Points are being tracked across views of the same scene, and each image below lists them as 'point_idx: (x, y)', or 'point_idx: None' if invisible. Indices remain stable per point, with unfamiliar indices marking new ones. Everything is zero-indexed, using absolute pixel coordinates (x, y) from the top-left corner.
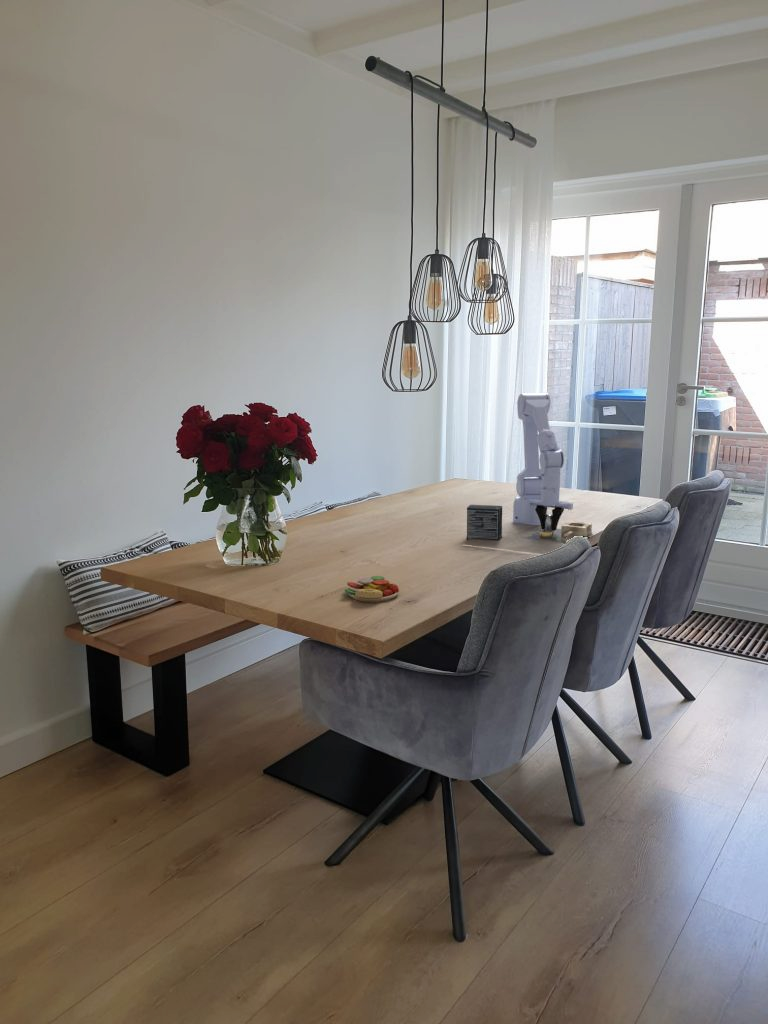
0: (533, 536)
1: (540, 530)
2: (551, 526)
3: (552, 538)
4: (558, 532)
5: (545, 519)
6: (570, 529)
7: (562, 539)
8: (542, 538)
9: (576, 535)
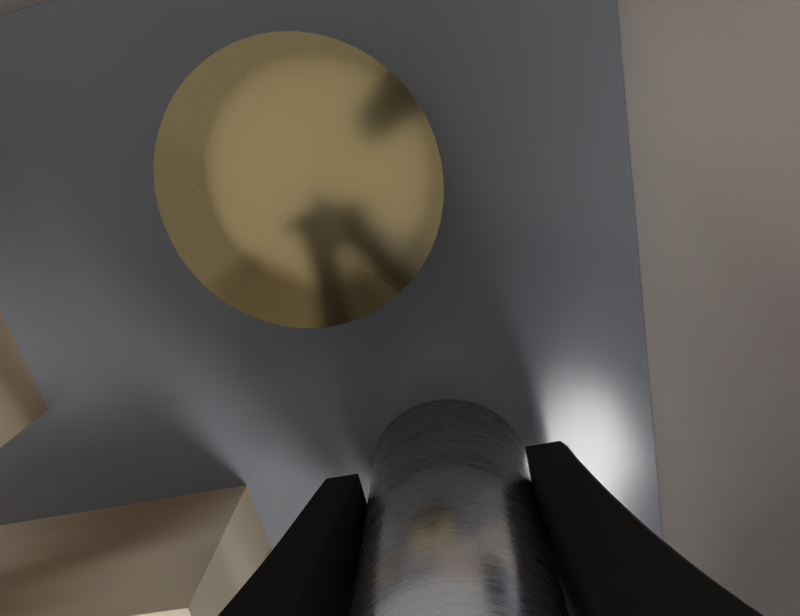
0: (536, 71)
1: None
2: (370, 522)
3: None
4: None
5: (517, 612)
6: (55, 582)
7: (17, 227)
8: None
9: (23, 530)
